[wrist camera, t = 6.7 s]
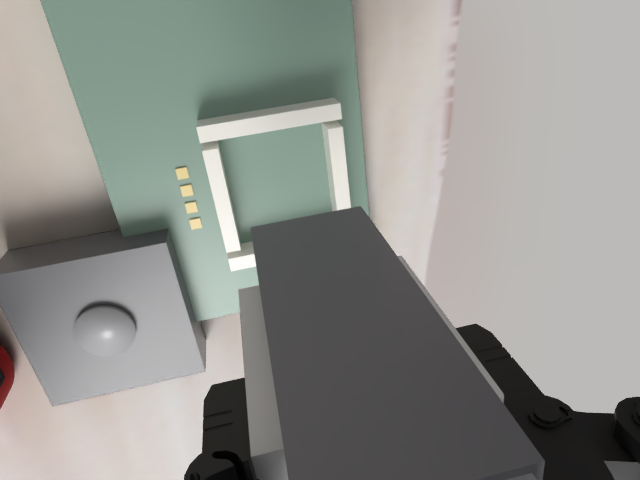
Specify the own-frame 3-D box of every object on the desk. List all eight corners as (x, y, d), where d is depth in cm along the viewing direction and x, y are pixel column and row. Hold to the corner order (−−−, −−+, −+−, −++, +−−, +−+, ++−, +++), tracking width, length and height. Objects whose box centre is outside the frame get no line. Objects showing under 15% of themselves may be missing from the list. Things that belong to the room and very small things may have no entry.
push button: (7, 250, 27) (-18, 281, 24) (170, 220, 28) (165, 245, 25) (66, 372, 31) (50, 411, 28) (206, 341, 32) (205, 376, 29)
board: (34, -42, 22) (11, -48, 19) (338, -79, 23) (353, -88, 21) (157, 319, 31) (152, 346, 28) (369, 274, 32) (382, 296, 30)
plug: (250, 227, 17) (300, 554, 7) (360, 205, 17) (560, 482, 7) (277, 356, 19) (342, 730, 9) (372, 334, 20) (531, 669, 10)
